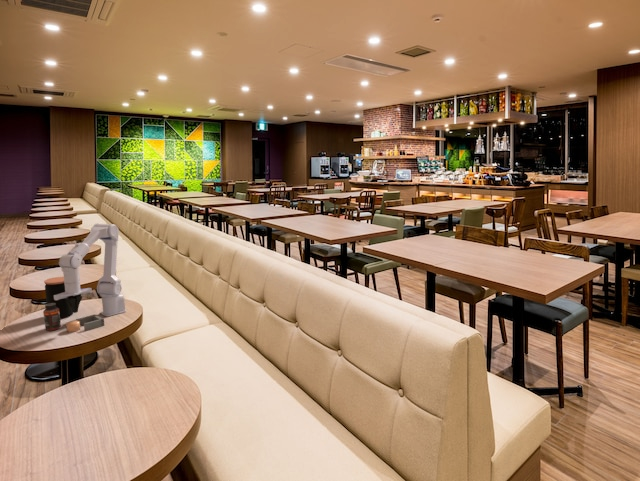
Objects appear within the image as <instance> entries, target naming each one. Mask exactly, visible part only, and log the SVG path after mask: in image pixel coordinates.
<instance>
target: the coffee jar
mask: <svg viewBox="0 0 640 481" xmlns="http://www.w3.org/2000/svg"><path fill="white" fill-rule="evenodd" d="M43 283H44V290H45V300H46V304H49V303H56V307H57V308H59V313H60V320H61V319H66V318H69V317H71V316H73V314H74V313H73V312H72V309H71V306H70V304H69V303H68V301H67V300H66V299H65V298H63V299H59V300H54V295H57V294H60V293H63V292H65V284H64V276H56V277H51V278H47V279H45V280H44V281H43Z"/></svg>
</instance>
